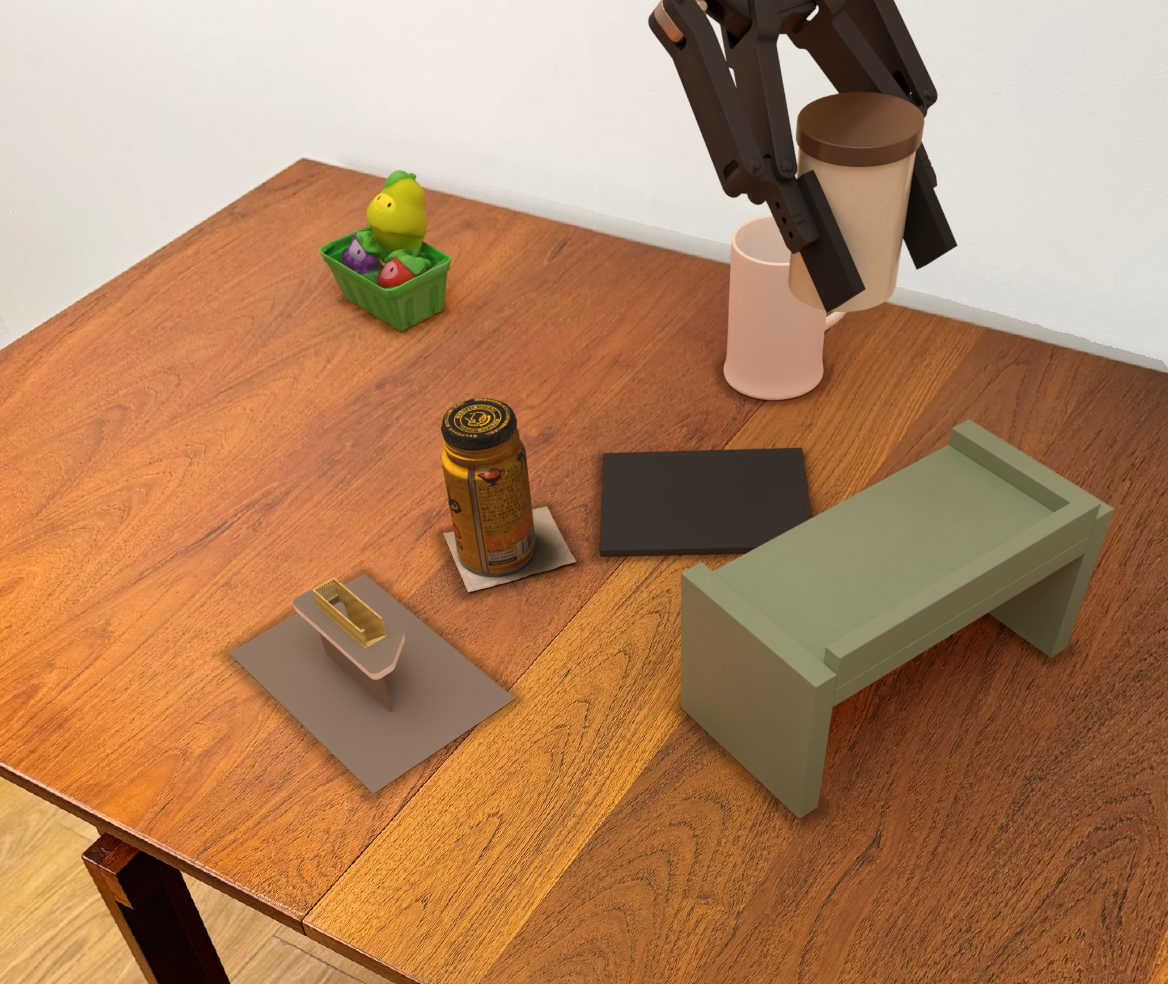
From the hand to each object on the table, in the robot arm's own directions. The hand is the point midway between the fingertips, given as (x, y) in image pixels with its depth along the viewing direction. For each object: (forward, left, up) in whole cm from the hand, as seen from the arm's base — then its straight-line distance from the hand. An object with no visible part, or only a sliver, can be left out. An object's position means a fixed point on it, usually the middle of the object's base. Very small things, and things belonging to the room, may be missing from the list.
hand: (891, 278), depth 68 cm
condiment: (+24, -10, -27) cm, 37 cm away
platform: (+33, +3, -27) cm, 43 cm away
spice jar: (+2, -3, -2) cm, 4 cm away
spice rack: (-2, +4, -26) cm, 27 cm away
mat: (+9, -15, -26) cm, 32 cm away
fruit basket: (+37, -46, -27) cm, 65 cm away
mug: (+1, -33, -27) cm, 42 cm away
